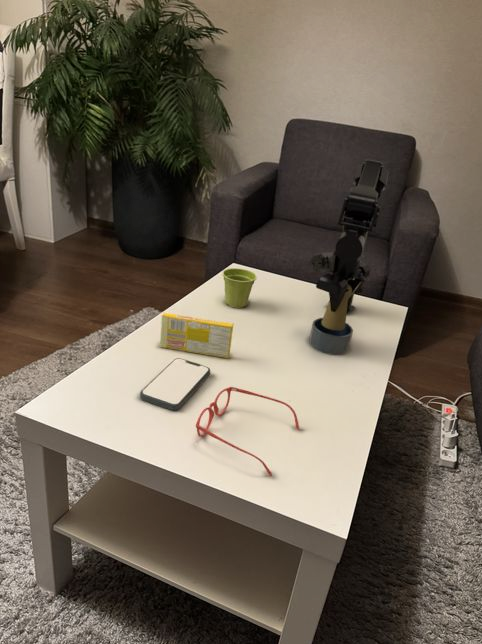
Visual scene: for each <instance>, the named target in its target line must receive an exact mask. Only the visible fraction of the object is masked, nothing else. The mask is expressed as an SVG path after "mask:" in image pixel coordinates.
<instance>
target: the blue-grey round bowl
mask: <svg viewBox="0 0 482 644" xmlns="http://www.w3.org/2000/svg"><path fill="white" fill-rule="evenodd" d="M322 319H323V317H318V318H316V319H314V320H313V321H312V324H311V329H310V332H309V333H310V334H309V340H308V342H309V344H310V346H311V347H312V348H313V349H315V350H316V351H319V352H320V353H324V354H327V355H342V354H343V355H344V354H346V353H348V351H349V349H350V345H351V342H352V338H353V334H354V329H353V327H352V326H351V325H350V324H349V323H347V322H346V324H345V328H344V329H343V330H331V329H328V328H326V327H324V326H323V325H322V323H321V322H322Z"/></svg>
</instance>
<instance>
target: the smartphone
mask: <svg viewBox="0 0 482 644" xmlns="http://www.w3.org/2000/svg"><path fill="white" fill-rule="evenodd" d="M210 374H211V368H210V367H208V366H206V365H203V364H200V363H196V362H194V361H190V360H187V359H184V358H180V357H176V358H174V359H173V360H172V361H171V362H170V363H169V364H168V365H167V366H165V368H163V369H162V371H161V372H159V373H158V374H157V375H156V376H155V377H154V378H153V379H152V380H151V381H150V382H149V383H148V384H147V385H146V386H144V388H142V389H141V390H140V392H139V397H140V399H141V400H142V401H144V402H147V403H150V404H152V405H156V406H159V407H161V408H164V409H167V410H169V411H178V410H180V409H181V408H182V406H183V405H185V403H186V402H187V401H188V400H189V399H190V398H191V397H192V395H193V394H194V393H195V392H196V391H197V390H198V389H199V388H200V386H202V384H203V383H204V382H205V381H206V380H207V378H208V377H210V376H211V375H210Z"/></svg>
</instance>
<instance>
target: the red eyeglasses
mask: <svg viewBox="0 0 482 644" xmlns="http://www.w3.org/2000/svg"><path fill="white" fill-rule="evenodd" d="M224 392H227V399H226V404H225V406H224V408H223V410H222V411H221V412H220V413H219V407H218V404H217V403H218V400H219V398H220V396H221V395H222V394H223V393H224ZM231 392H236V393H241V394H245V395H250V396H254V397H259V398H262V399H265V400H266V399H267V400H269V401H273V402H276V403H280V404H282V405H284V406H286V407H287V408H288V409H289V410H290V411H291V412H292V415H293V416H294V417H293V418H294V423H295V424H294V425H295V428H296V430H298V431H299V430H300V425H299V420H298V416H297V414H296V411H295V409H294V408H293V407H292V406H291V405H290V404H288V403H287V402H284V401H282V400H279V399H277V398H272V397H269V396H266V395H262V394H259V393H256V392H253V391H250V390H245V389H242V388H238V387H234V386H229V387H226V388H224V389H222V390H221V391H219V392H218V394H217V395H216V397H215V399H214V401H213V402H210V403H209V405H208V406H207V407H205V408H203V410H202V411H201V413H200V415H199V416H198V418H197V421H196V423H195V428H196V433H197V436H198V437H199V438H203V437H205V435H208V436H209V437H212V438H214V439H216V440H218V441H220V442H222V443H224V444H226V445H228V446H230V447H231V448H234V449H236V450H237V451H240V452H242V453H244V454H246V455H249V456H251V457H253V458H254V459H256V460H258V461H259V462H260V463H261V464H262V466H263V467H264V469H265V471H266V473H267V474H268V475H270V476H272V475H273V473H272V472H271V470H270V469H269V467H268V466H267V464H266V463H265V462H264V461H263V460H262V459H261V458H259V457H258V456H256V455H255V454H253V453H251V452H249V451H247V450H245V449H243V448H241V447H239V446H236V445H235V444H233V443H231V442H229V441H227V440H225V439H223V438H222V437H220V436H218V435H217V434H215V433H213V432H212V431H210V430H209V428H210V426H211V424H212V421H213V419H214V417H215V416H217V417H221V416H222V415H223V414H224V413H226V411H227V408H228V406H229V403H230V401H231V400H230V399H231ZM206 411H208V420H207V421H208V422H207V424H206V428H205V427H203V426H201V424H200V423H201V419H202V417H203V415H204V413H205V412H206ZM200 431H201V432H202V434H201V432H200Z"/></svg>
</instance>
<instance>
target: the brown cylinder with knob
mask: <svg viewBox="0 0 482 644" xmlns="http://www.w3.org/2000/svg"><path fill="white" fill-rule="evenodd" d="M347 289H349V292H348V293H347V295H346V296H345V298H344V300H343V301H342V303H341V304H340V306H339V307H338V309H337V310H336V311H335V312H332V311H331V307H330V299H329V301H328V303H327V305H328V306H327V305H326V309H325V311H324V313H323V317H322V318H323V319H322V322H321V323H322V325H323V326H324V327H326V328H328V329H331V330H343V329H344V328H345V324H346V323H347V314H346V313H347V303H348V298H350V296H351V294H352V288H351V286H350V285H347Z"/></svg>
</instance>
